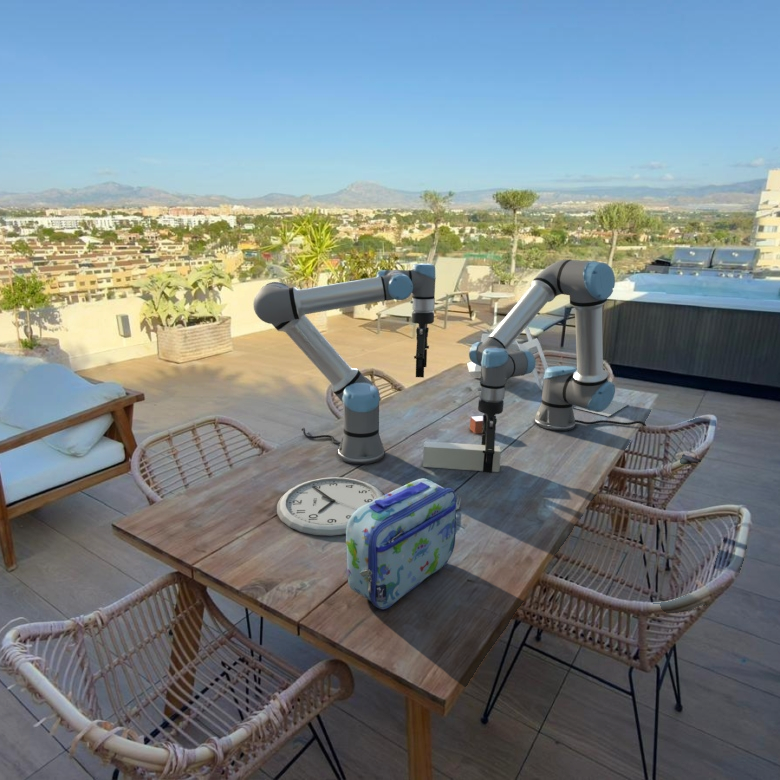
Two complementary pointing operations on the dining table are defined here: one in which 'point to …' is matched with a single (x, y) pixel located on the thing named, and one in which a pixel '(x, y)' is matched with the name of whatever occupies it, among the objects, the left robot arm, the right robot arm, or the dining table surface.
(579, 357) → the right robot arm
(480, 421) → the terracotta block
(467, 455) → the plank
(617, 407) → the invitation card
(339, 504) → the wall clock
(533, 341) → the white plastic object
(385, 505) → the lunch box
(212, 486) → the dining table surface
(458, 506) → the fork
